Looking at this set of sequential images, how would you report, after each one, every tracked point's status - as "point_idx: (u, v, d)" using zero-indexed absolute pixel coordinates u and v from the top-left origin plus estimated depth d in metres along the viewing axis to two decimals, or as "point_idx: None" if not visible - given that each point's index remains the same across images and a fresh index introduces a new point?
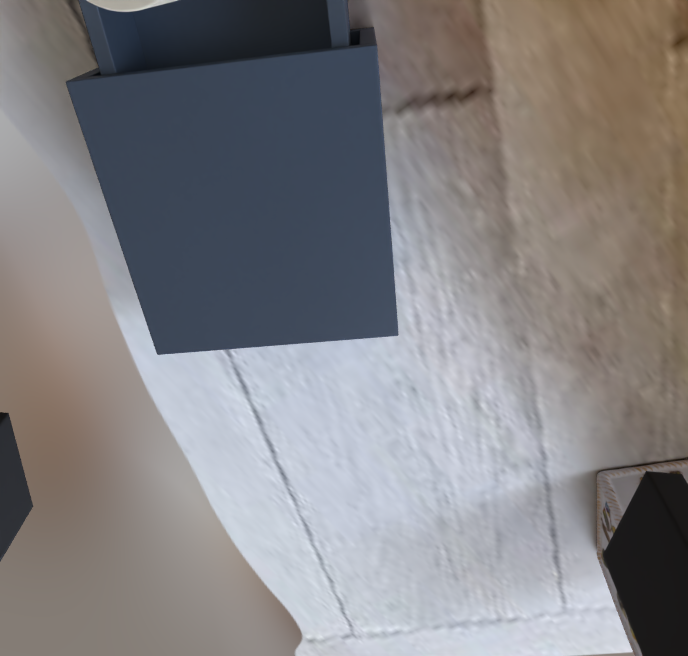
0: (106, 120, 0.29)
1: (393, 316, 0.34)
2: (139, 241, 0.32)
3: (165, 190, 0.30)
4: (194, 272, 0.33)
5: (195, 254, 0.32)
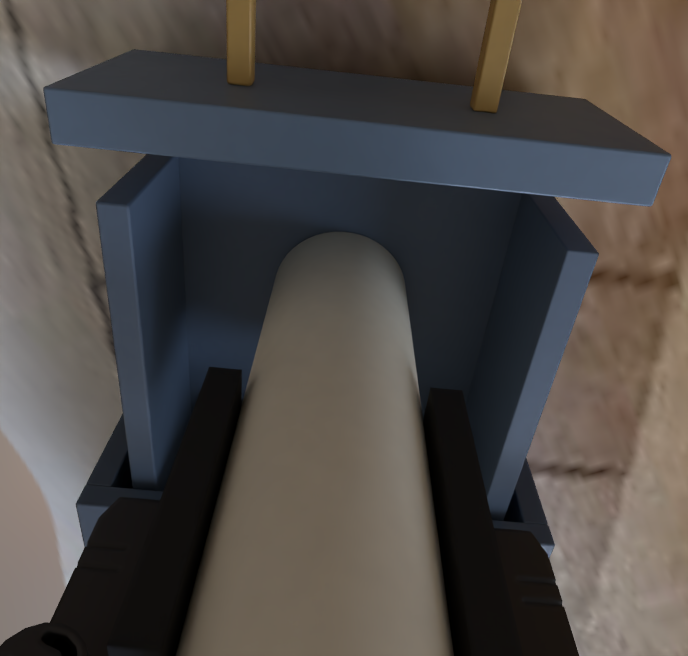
0: None
1: None
2: None
3: None
4: None
5: None
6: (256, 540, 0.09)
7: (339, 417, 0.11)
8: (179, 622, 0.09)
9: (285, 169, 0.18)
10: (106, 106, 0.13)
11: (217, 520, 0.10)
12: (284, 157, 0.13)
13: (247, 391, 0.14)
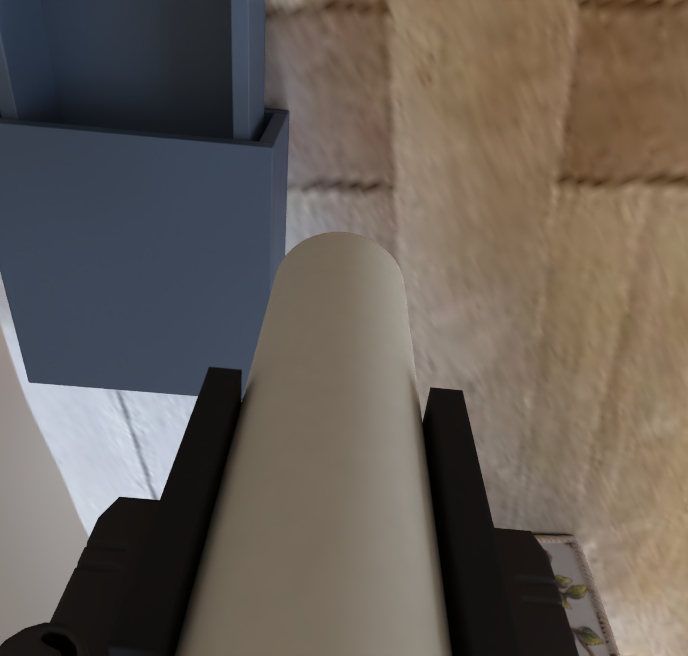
0: (0, 162, 0.29)
1: None
2: (21, 276, 0.32)
3: (53, 235, 0.31)
4: (74, 314, 0.33)
5: (77, 297, 0.33)
6: (254, 541, 0.09)
7: (338, 418, 0.11)
8: (179, 622, 0.09)
9: None
10: None
11: (216, 521, 0.10)
12: None
13: (246, 391, 0.14)
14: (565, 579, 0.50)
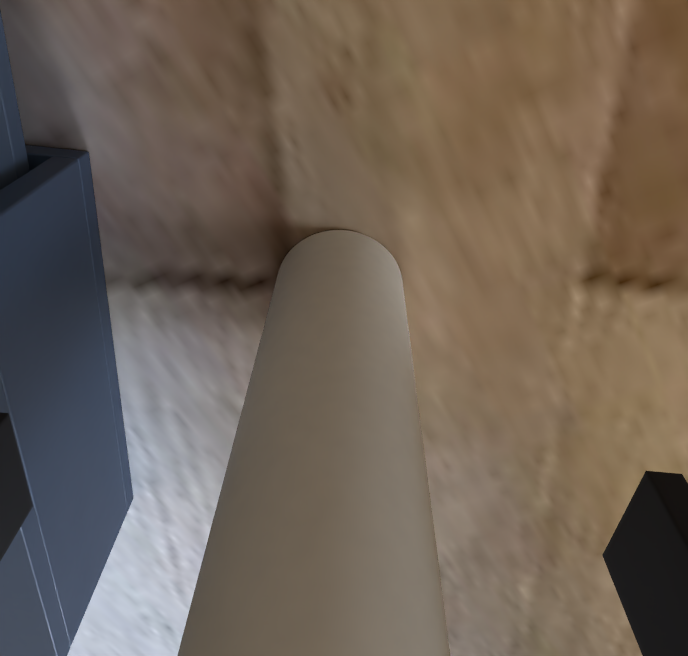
0: None
1: (49, 647, 0.20)
2: None
3: None
4: None
5: None
6: (262, 510, 0.10)
7: (339, 402, 0.12)
8: None
9: None
10: None
11: (225, 495, 0.11)
12: None
13: (252, 379, 0.15)
14: None
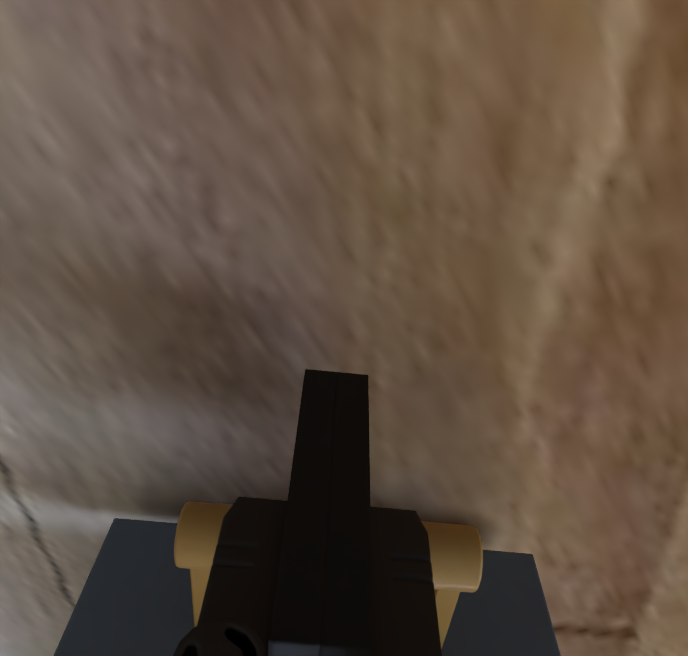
0: None
1: None
2: None
3: None
4: None
5: None
6: None
7: None
8: None
9: None
10: None
11: None
12: None
13: None
14: None
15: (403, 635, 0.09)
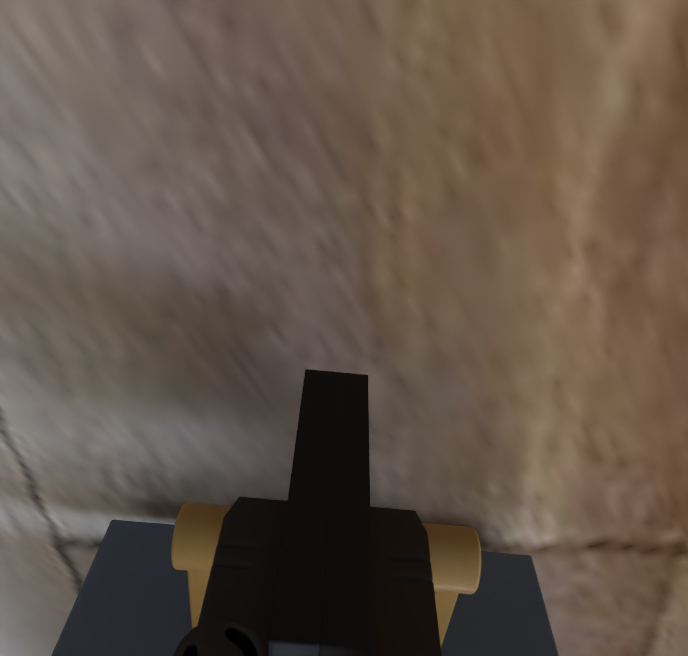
0: None
1: None
2: None
3: None
4: None
5: None
6: None
7: None
8: None
9: None
10: None
11: None
12: None
13: None
14: None
15: (403, 635, 0.09)
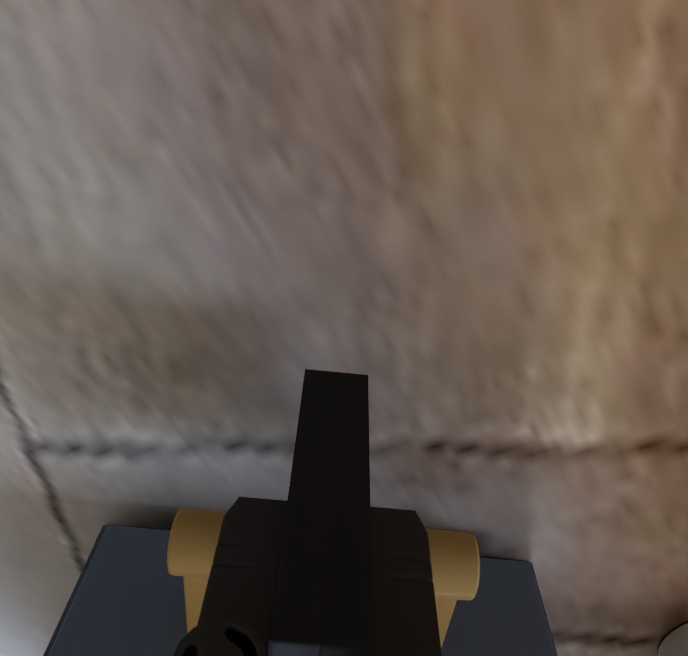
0: None
1: None
2: None
3: None
4: None
5: None
6: None
7: None
8: None
9: None
10: None
11: None
12: None
13: None
14: None
15: (403, 635, 0.09)
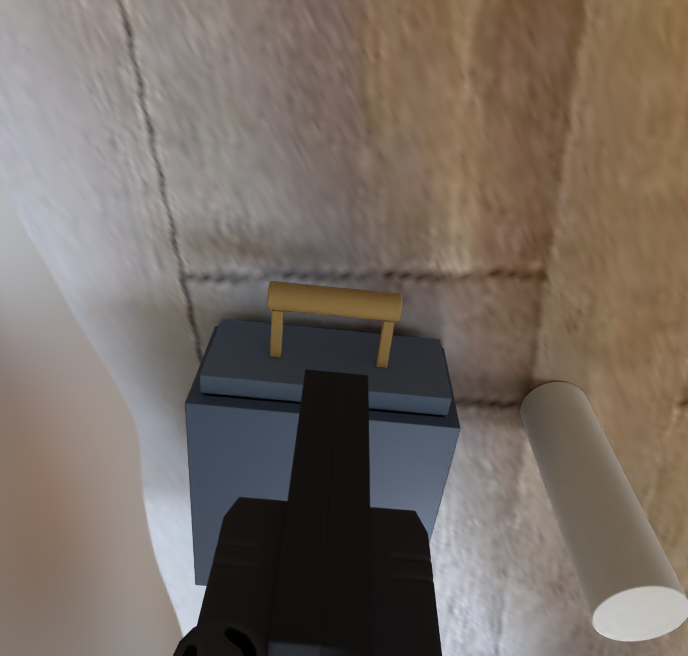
0: (211, 432, 0.32)
1: None
2: (209, 511, 0.36)
3: (246, 483, 0.34)
4: None
5: None
6: (605, 527, 0.29)
7: (611, 484, 0.32)
8: None
9: None
10: (224, 381, 0.31)
11: (578, 521, 0.31)
12: (295, 398, 0.32)
13: (554, 468, 0.34)
14: None
15: (404, 635, 0.09)
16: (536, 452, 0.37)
